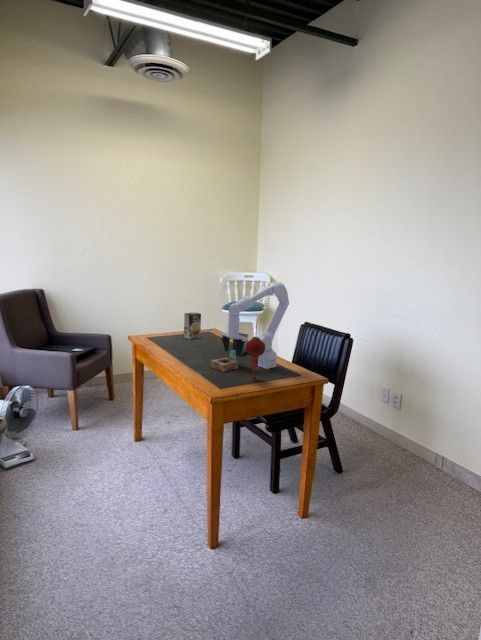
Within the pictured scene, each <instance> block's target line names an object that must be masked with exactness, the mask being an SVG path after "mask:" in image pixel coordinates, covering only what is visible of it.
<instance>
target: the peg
mask: <svg viewBox="0 0 481 640" xmlns="http://www.w3.org/2000/svg"><path fill="white" fill-rule="evenodd" d="M236 357H237V354H236V351H235V350H229V359H232V360H235V361H236V359H237V358H236Z"/></svg>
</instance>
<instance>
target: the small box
mask: <svg viewBox="0 0 481 640" xmlns="http://www.w3.org/2000/svg"><path fill="white" fill-rule="evenodd" d="M239 335H241V336H244V337H246V341H245V343H244V344H243V346H242V349H241V352H240V354H237V343H236V341H239V340H237V339H232V350H235V351H236V356H237V355H238V356H243V355H244V354H246V353H247V351H246V344H247V342H248V341H249V334H248V333H247V334H246V333H242V332H241V333H240V332H239Z"/></svg>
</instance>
